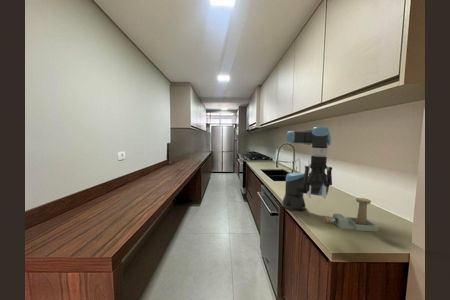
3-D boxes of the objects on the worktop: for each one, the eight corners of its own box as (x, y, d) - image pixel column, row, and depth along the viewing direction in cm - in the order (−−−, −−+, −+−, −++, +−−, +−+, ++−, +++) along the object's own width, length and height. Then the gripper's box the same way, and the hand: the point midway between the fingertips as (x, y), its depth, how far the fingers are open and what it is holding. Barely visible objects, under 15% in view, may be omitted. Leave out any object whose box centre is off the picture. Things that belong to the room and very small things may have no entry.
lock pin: (324, 221, 102) (324, 215, 102) (337, 222, 102) (337, 216, 102) (327, 224, 99) (327, 218, 99) (340, 224, 99) (341, 219, 99)
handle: (352, 223, 103) (354, 197, 102) (366, 225, 101) (368, 198, 100) (355, 227, 98) (357, 200, 97) (370, 229, 96) (372, 201, 95)
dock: (331, 220, 105) (332, 212, 105) (365, 222, 104) (365, 214, 104) (341, 229, 96) (341, 220, 95) (377, 231, 94) (378, 222, 94)
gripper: (302, 155, 95) (299, 198, 97) (342, 157, 94) (339, 200, 96) (297, 154, 103) (295, 194, 105) (334, 155, 101) (331, 195, 103)
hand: (316, 197), depth 100 cm, fingers open, 7 cm apart
